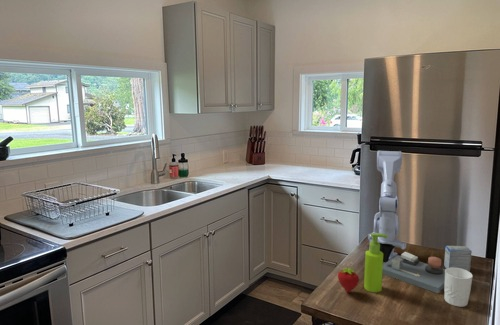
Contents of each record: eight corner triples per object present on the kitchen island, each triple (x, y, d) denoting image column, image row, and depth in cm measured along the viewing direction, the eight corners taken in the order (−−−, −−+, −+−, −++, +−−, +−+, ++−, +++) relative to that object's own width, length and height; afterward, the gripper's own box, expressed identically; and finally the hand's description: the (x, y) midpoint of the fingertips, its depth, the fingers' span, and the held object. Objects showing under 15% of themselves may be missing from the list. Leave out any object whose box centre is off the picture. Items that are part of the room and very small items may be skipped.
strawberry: (352, 299, 126) (353, 271, 124) (333, 291, 131) (334, 264, 130) (362, 293, 130) (363, 266, 128) (343, 285, 135) (344, 259, 133)
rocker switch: (400, 257, 149) (401, 254, 149) (404, 254, 152) (405, 251, 151) (413, 262, 146) (414, 259, 145) (417, 259, 148) (418, 257, 148)
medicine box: (464, 266, 148) (466, 245, 147) (469, 272, 144) (472, 250, 143) (443, 266, 149) (445, 245, 148) (448, 271, 145) (450, 249, 143)
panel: (377, 272, 145) (378, 264, 144) (397, 259, 156) (397, 252, 155) (438, 293, 129) (438, 285, 128) (454, 277, 140) (455, 269, 139)
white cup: (445, 292, 129) (448, 265, 128) (471, 300, 125) (474, 271, 123) (439, 302, 124) (442, 273, 122) (467, 310, 119) (470, 281, 117)
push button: (426, 265, 141) (426, 259, 140) (430, 261, 144) (431, 255, 143) (438, 269, 138) (438, 262, 137) (442, 265, 141) (443, 259, 140)
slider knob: (391, 267, 143) (392, 258, 143) (394, 265, 145) (395, 256, 144) (399, 270, 141) (399, 261, 140) (402, 268, 143) (402, 259, 142)
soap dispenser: (385, 293, 129) (388, 237, 126) (364, 291, 131) (367, 236, 127) (383, 285, 135) (386, 231, 132) (363, 283, 136) (365, 230, 133)
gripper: (364, 225, 146) (362, 258, 149) (400, 235, 136) (398, 270, 138) (373, 221, 151) (372, 253, 153) (409, 230, 141) (407, 264, 143)
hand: (385, 261), depth 146 cm, fingers closed
